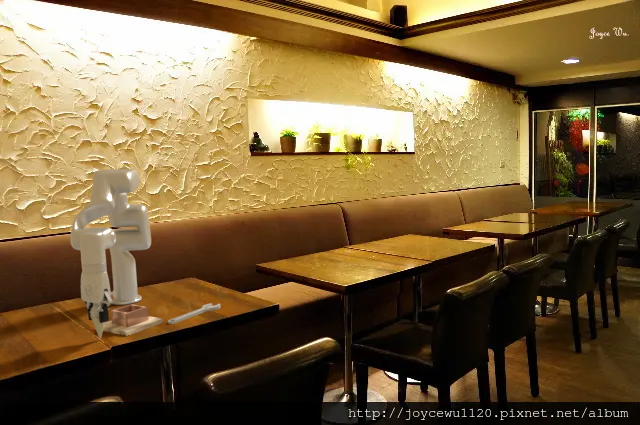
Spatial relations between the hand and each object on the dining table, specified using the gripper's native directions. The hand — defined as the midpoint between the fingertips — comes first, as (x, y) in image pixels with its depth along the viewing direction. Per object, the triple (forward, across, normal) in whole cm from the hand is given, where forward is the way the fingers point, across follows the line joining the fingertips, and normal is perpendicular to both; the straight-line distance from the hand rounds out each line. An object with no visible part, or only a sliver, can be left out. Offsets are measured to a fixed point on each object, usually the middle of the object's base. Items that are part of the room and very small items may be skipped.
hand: (98, 319), depth 173 cm
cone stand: (+7, -3, +15) cm, 16 cm away
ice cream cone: (+7, 0, 0) cm, 7 cm away
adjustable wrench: (+8, +9, +36) cm, 37 cm away
